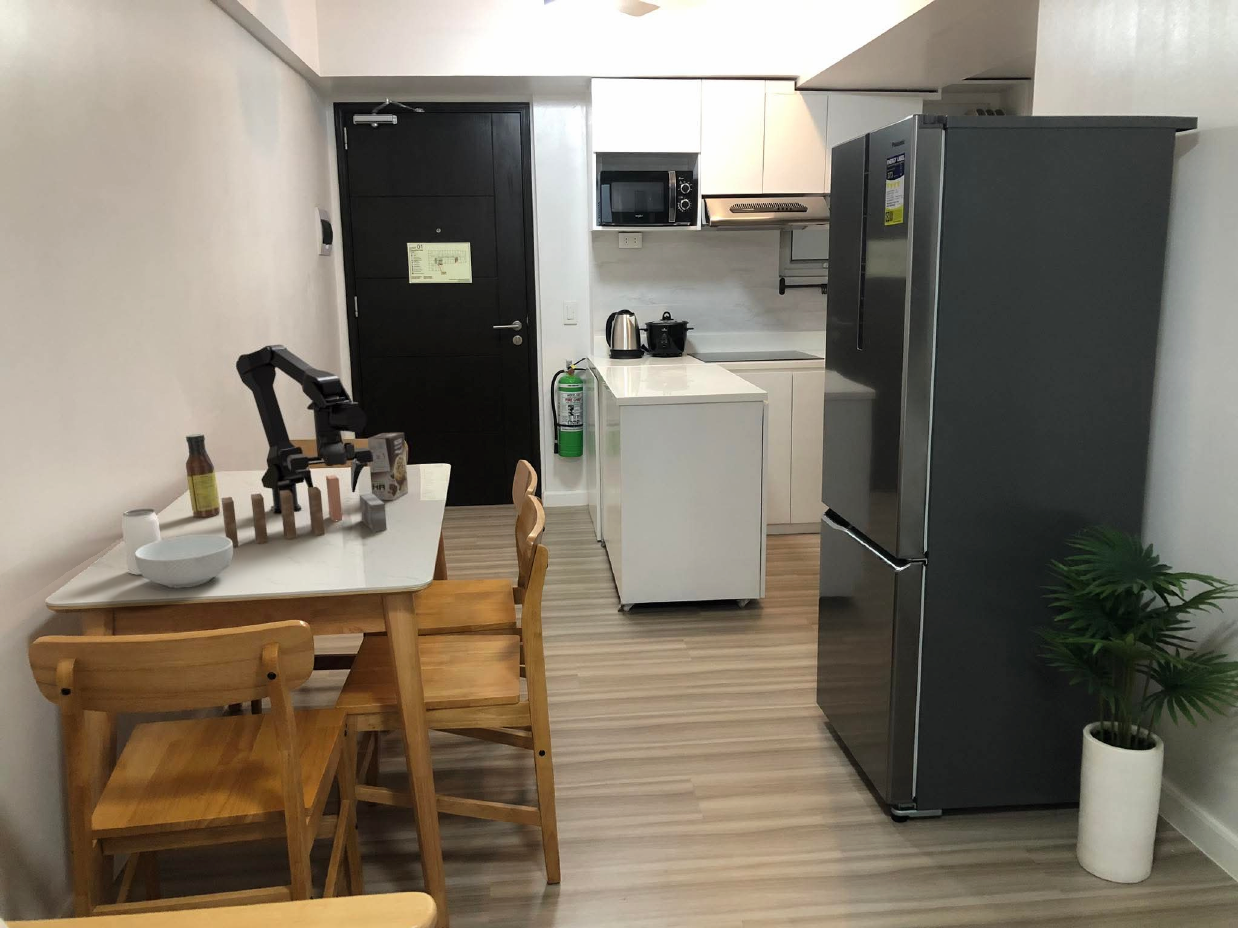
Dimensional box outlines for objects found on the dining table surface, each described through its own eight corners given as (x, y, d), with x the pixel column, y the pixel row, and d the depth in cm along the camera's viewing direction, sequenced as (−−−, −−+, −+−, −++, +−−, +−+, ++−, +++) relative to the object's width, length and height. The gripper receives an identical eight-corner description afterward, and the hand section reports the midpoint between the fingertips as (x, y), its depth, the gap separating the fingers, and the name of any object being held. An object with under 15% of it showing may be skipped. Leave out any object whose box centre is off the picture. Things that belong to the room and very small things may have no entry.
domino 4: (315, 535, 213) (311, 491, 211) (311, 530, 217) (307, 487, 215) (324, 534, 214) (320, 490, 212) (320, 529, 218) (316, 486, 216)
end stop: (361, 519, 226) (359, 495, 224) (374, 518, 227) (372, 493, 226) (373, 531, 215) (371, 505, 214) (386, 529, 216) (384, 503, 215)
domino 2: (258, 543, 208) (253, 499, 206) (255, 538, 212) (250, 494, 210) (268, 542, 209) (263, 497, 207) (265, 537, 213) (260, 493, 211)
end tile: (333, 521, 225) (329, 479, 223) (329, 516, 230) (325, 475, 228) (342, 520, 226) (338, 478, 224) (338, 515, 230) (334, 474, 228)
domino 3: (287, 539, 210) (282, 495, 208) (283, 534, 215) (279, 491, 213) (296, 538, 211) (292, 494, 209) (293, 533, 216) (289, 489, 214)
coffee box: (394, 500, 244) (390, 438, 241) (371, 500, 246) (366, 437, 242) (409, 492, 253) (405, 432, 250) (386, 491, 254) (382, 431, 251)
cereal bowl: (136, 601, 172) (131, 564, 171) (141, 576, 187) (136, 541, 186) (237, 587, 179) (233, 550, 178) (234, 563, 194) (230, 529, 192)
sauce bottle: (226, 512, 236) (217, 433, 232) (207, 519, 230) (198, 437, 226) (204, 511, 238) (195, 432, 234) (186, 517, 233) (176, 436, 229)
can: (136, 566, 193) (128, 508, 191) (169, 565, 194) (162, 507, 192) (122, 576, 187) (114, 517, 185) (157, 574, 188) (149, 515, 185)
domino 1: (228, 548, 205) (223, 502, 203) (226, 542, 209) (221, 498, 207) (238, 546, 206) (233, 501, 204) (236, 541, 210) (231, 496, 208)
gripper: (291, 438, 212) (298, 506, 216) (376, 430, 221) (381, 496, 224) (284, 431, 222) (290, 497, 225) (365, 423, 230) (370, 487, 234)
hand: (333, 494), depth 227 cm, fingers open, 9 cm apart
